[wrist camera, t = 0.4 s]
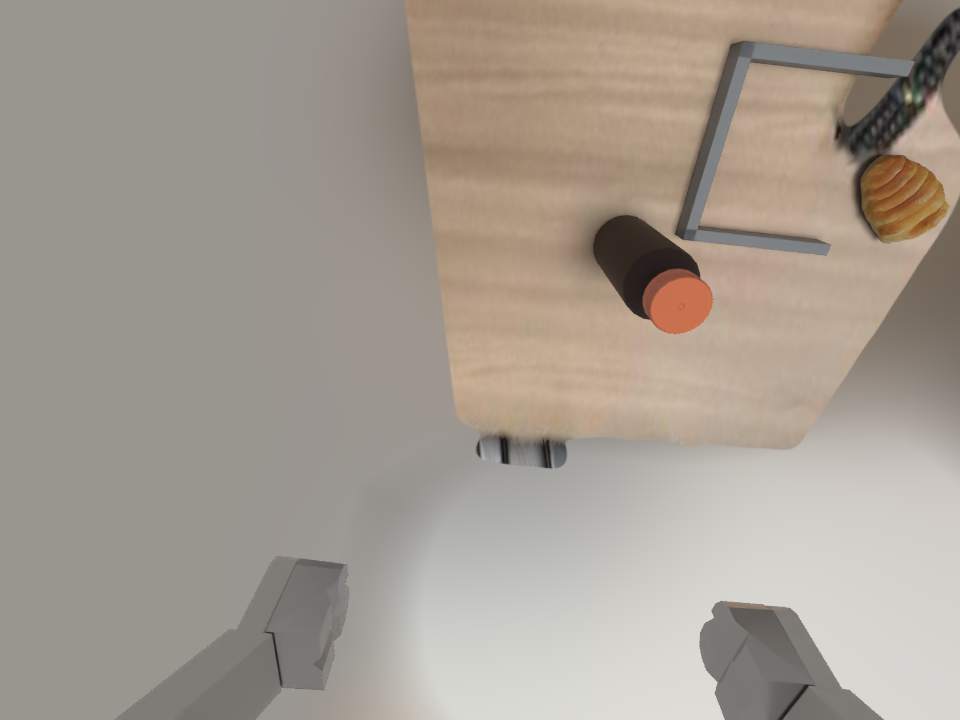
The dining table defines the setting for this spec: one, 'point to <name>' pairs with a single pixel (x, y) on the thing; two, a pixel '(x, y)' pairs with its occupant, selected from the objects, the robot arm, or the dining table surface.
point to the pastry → (901, 198)
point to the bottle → (652, 275)
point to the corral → (722, 119)
